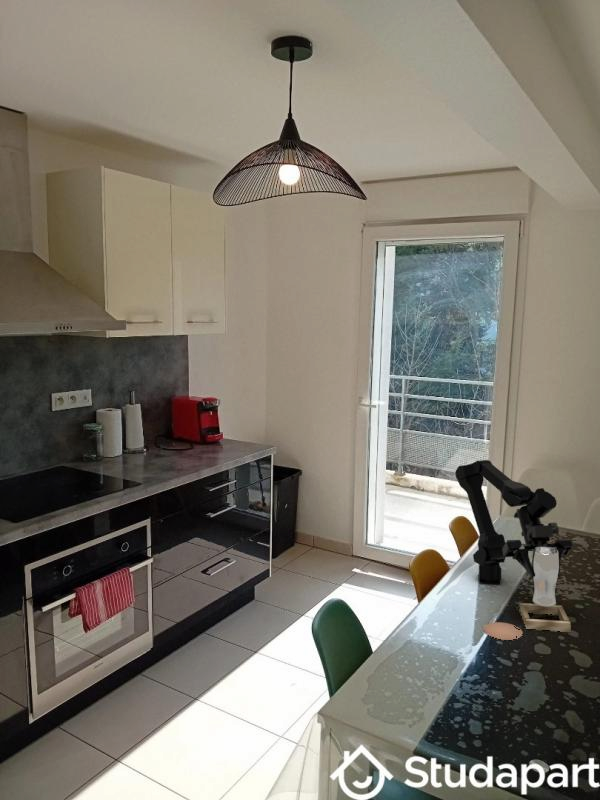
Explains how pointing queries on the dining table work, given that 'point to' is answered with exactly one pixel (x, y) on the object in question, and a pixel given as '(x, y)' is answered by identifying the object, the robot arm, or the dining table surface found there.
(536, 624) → the pocket frame
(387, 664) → the dining table surface
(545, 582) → the beer glass
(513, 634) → the mat
